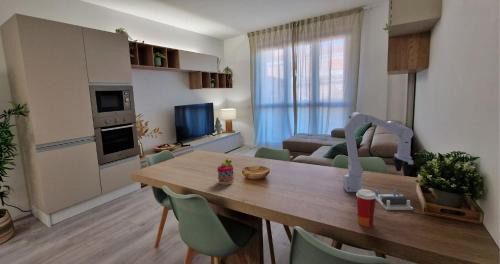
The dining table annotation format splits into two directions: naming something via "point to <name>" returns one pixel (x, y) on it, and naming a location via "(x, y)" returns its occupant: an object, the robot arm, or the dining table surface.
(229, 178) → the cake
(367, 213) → the paper cup
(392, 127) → the robot arm
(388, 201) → the board
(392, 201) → the dark grey capsule
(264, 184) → the dining table surface
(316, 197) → the dining table surface
